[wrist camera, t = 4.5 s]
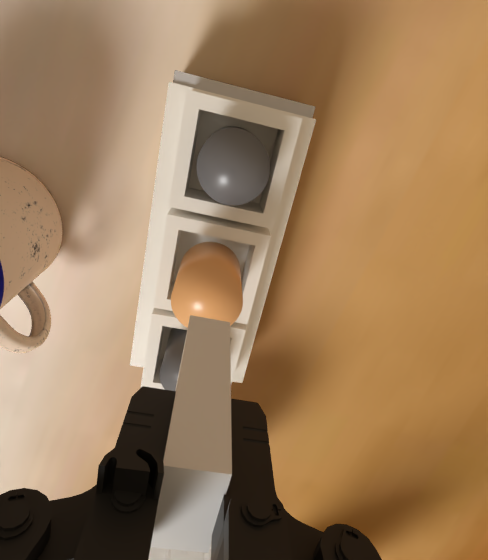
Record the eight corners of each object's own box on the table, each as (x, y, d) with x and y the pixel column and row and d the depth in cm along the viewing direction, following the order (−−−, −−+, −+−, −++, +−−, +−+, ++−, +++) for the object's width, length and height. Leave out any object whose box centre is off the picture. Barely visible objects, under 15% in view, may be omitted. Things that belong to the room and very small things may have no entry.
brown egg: (175, 291, 22) (165, 326, 19) (185, 236, 21) (176, 262, 17) (233, 301, 23) (234, 338, 19) (246, 248, 21) (250, 276, 18)
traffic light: (132, 388, 32) (113, 446, 26) (178, 74, 23) (163, 63, 17) (227, 403, 33) (227, 461, 27) (307, 108, 24) (331, 107, 18)
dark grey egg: (165, 356, 26) (155, 395, 23) (173, 313, 25) (164, 347, 22) (214, 364, 27) (212, 403, 23) (224, 322, 26) (223, 357, 22)
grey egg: (196, 182, 22) (190, 196, 18) (207, 119, 21) (204, 121, 17) (254, 195, 22) (260, 212, 19) (269, 134, 21) (278, 139, 17)
